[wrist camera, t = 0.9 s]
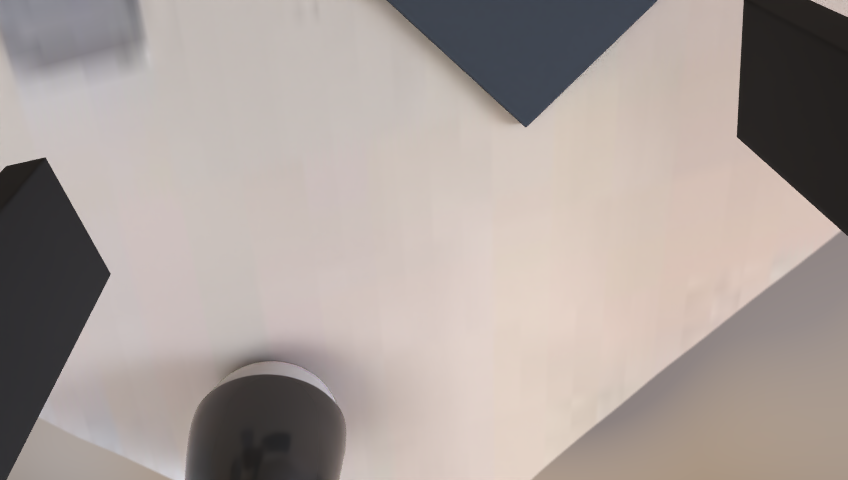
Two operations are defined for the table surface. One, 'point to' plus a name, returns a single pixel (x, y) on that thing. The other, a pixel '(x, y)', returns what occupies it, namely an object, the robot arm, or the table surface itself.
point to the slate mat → (523, 42)
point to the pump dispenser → (267, 427)
